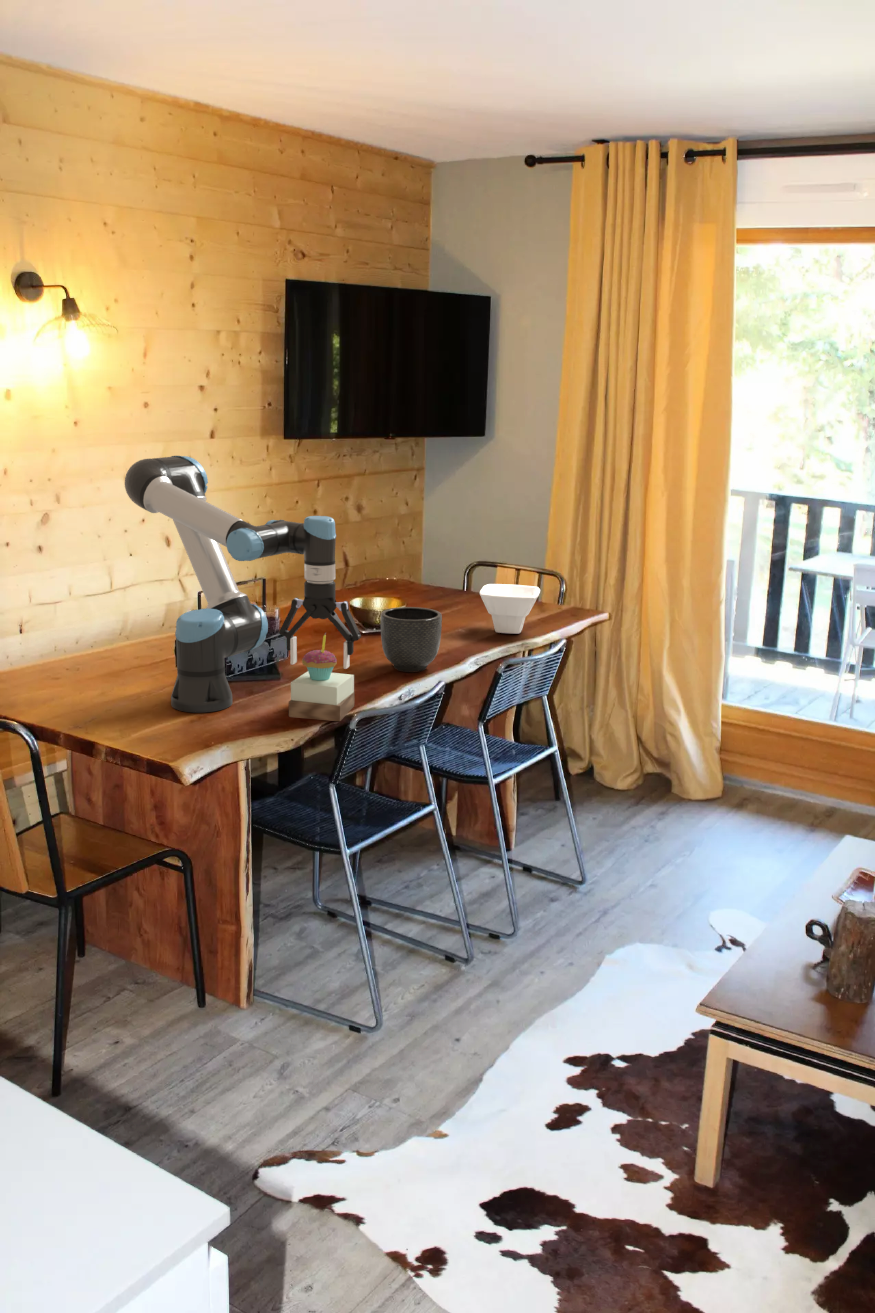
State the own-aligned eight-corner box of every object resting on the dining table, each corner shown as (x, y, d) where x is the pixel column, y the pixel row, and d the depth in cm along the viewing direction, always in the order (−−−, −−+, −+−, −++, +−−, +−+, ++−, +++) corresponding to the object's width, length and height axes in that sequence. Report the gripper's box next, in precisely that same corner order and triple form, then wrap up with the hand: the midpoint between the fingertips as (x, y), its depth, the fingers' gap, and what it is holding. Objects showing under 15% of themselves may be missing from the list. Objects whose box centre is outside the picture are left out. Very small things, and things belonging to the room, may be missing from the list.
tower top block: (290, 700, 284) (290, 682, 283) (309, 687, 295) (309, 670, 294) (336, 705, 281) (336, 687, 280) (353, 692, 292) (353, 674, 291)
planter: (406, 680, 318) (407, 623, 314) (367, 666, 330) (368, 611, 326) (453, 670, 329) (454, 615, 325) (414, 657, 341) (415, 604, 337)
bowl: (475, 637, 366) (477, 594, 363) (483, 624, 385) (485, 582, 381) (534, 641, 363) (536, 598, 360) (539, 627, 382) (541, 586, 378)
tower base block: (288, 719, 284) (288, 701, 283) (305, 703, 296) (305, 687, 295) (339, 723, 282) (340, 706, 280) (354, 708, 294) (354, 691, 293)
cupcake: (343, 678, 287) (344, 631, 284) (318, 685, 281) (318, 636, 278) (320, 671, 293) (320, 625, 290) (294, 677, 287) (294, 630, 284)
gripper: (265, 580, 279) (266, 665, 285) (365, 586, 275) (365, 673, 280) (275, 574, 286) (276, 657, 292) (373, 581, 282) (372, 665, 287)
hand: (319, 665), depth 286 cm, fingers open, 13 cm apart
